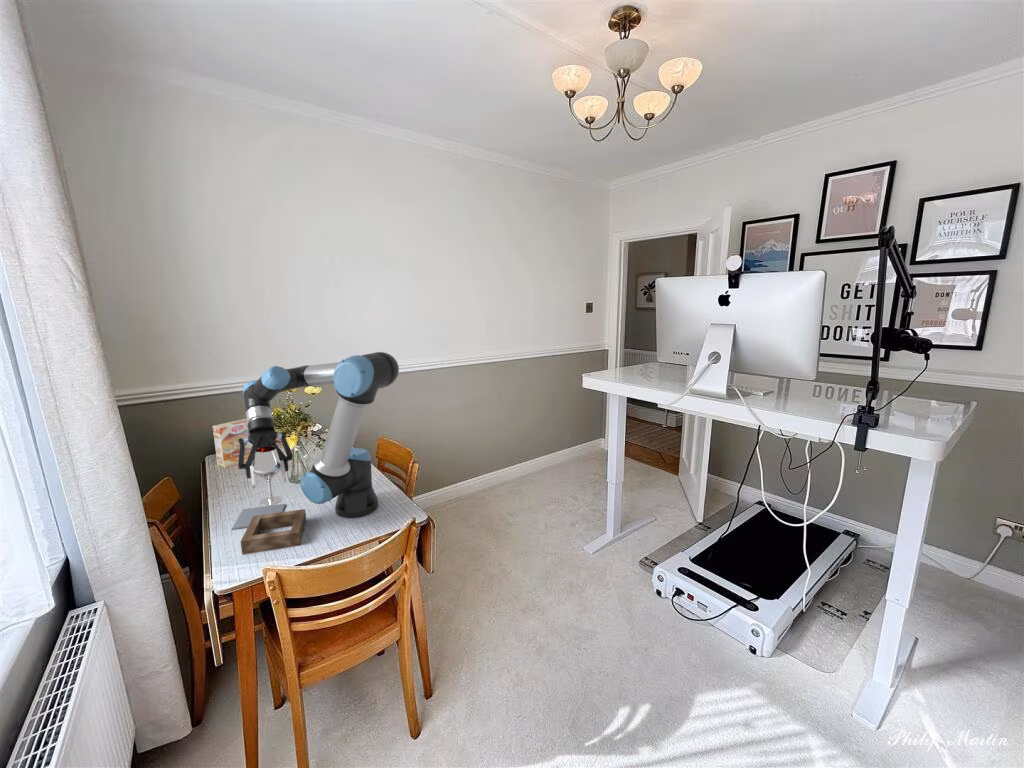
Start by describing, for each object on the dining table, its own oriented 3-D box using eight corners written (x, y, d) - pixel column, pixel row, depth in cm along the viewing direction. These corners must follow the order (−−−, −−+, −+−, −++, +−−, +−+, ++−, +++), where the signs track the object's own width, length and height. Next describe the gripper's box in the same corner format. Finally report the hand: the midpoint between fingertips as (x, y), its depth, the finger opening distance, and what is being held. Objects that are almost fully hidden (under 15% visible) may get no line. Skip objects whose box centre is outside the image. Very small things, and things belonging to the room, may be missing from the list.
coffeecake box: (224, 468, 192) (219, 428, 188) (217, 465, 196) (211, 425, 192) (257, 458, 205) (253, 420, 201) (250, 455, 208) (245, 418, 204)
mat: (285, 505, 159) (285, 503, 159) (278, 523, 146) (278, 521, 146) (243, 510, 154) (242, 509, 154) (232, 530, 141) (231, 528, 141)
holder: (306, 520, 148) (305, 508, 147) (299, 545, 133) (298, 532, 132) (254, 528, 143) (253, 516, 142) (242, 554, 128) (240, 541, 127)
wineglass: (289, 495, 140) (285, 445, 137) (277, 507, 132) (272, 454, 129) (265, 495, 140) (259, 444, 136) (251, 507, 132) (245, 453, 128)
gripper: (293, 423, 150) (304, 480, 140) (224, 432, 138) (231, 496, 129) (294, 412, 145) (306, 471, 135) (222, 421, 133) (229, 486, 123)
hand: (269, 483), depth 132 cm, fingers closed on wineglass, 8 cm apart
